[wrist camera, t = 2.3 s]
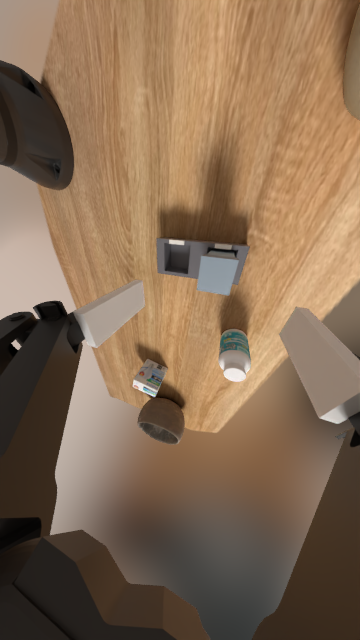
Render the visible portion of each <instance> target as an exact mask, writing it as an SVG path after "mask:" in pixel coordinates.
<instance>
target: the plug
mask: <svg viewBox="0 0 360 640" xmlns="http://www.w3.org/2000/svg"><path fill="white" fill-rule="evenodd" d="M238 262H239V259H238V258H236V257H235V255H234V251H231V250H221V249H212V250H211V251H210V252H209V253H208V254H203V255H202V256H201V262H200V269H199V277H198V284H197V290H199V291H205V292H211V293H217V294H223V295H229V293H230V290H231V286H232V283H233V279H234V276H235V272H236V269H237V265H238Z"/></svg>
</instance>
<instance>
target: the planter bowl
mask: <svg viewBox="0 0 360 640" xmlns="http://www.w3.org/2000/svg"><path fill="white" fill-rule="evenodd" d="M343 90H344V102H345V105H346V108H347V110H348V111H349V113H350V114H351V115H352V116H354V117H356V118H357V119H358V120H360V4H359V7H358V10H357V14H356V17H355V20H354V23H353V27H352V31H351V34H350V38H349V43H348V47H347V52H346V57H345V64H344V73H343Z"/></svg>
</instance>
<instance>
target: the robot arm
mask: <svg viewBox="0 0 360 640" xmlns="http://www.w3.org/2000/svg"><path fill="white" fill-rule="evenodd" d="M0 164H1V165H4V166H7V167H10V168H12V169H13V170H15V171H17V172H18V173H20V174H22V175H24V176H26V177H27V178H29V179H31V180H32V181H34V182H36V183H38V184H40V185H41V186H44V187H47V188H51V189H55V190H62V189H65V188H66V187H67V186H68V185H69V183H70V181H71V179H72V175H73V168H74V159H73V150H72V145H71V140H70V136H69V133H68V130H67V127H66V124H65V122H64V119H63V117H62V115H61V113H60V111H59V109H58V107H57V105H56V103H55V102H54V100H53V98H52V97H51V96H50V94H49V93H48V92H47V90H46V89H45V88H44V87H43V86H42V85H41V84H40V83H39V82H38V81H36V80H35V79H34V78H33V77H31V76H30V75H29V74H27V73H26V72H25V71H24V70H22V69H20V68H19V67H17V66H15V65H12V64H9V63H6V62H4V61H1V60H0ZM144 306H145V299H144V289H143V281H141V280H134V281H132V282H130V283H128V284H126V285H124V286H122V287H120V288H118V289H116V290H114V291H112V292H110V293H108V294H106V295H104V296H102V297H101V298H99V299H97V300H95V301H93V302H91V303H89V304H87V305H85V306H83V307H81V308H79V309H77V310H75V311H73V312H72V313H70V314H67V312H66V310H65V308H64V306H63V304H62V302H60V301H49V302H44V303H41V304H38V305H36V306H34V307H33V309H34V310H35V312H36V313H37V315H38V317H39V318H40V319H36V318H35V316H34V315H33V313H31V312H18V313H13V314H12V315H9V316H7V317H5V318H3V319H1V320H0V640H211V639H210V637H209V636H208V634H207V633H206V632H205V630H204V629H203V627H202V624H201V621H200V618H199V614H198V611H197V609H196V608H195V607H193V606H192V605H191V604H189V603H188V602H186V601H184V600H183V599H182V598H180V597H179V596H177V595H176V594H175V593H173V592H172V591H170V590H169V589H167V588H166V587H164V586H153V585H140V584H139V585H138V584H130V583H128V582H127V581H126V579H125V578H124V576H123V574H122V573H121V571H120V570H119V568H118V566H117V564H116V563H115V561H114V559H113V558H112V556H111V554H110V552H109V551H108V549H107V547H106V546H105V545H103V544H102V543H100V542H99V541H98V540H96V539H94V538H93V537H91V536H90V535H89V534H87V533H86V532H84V531H83V530H78V531H72V532H66V533H61V534H55V535H50V530H51V524H52V520H53V515H54V510H55V504H56V498H57V485H56V481H55V468H56V463H57V459H58V455H59V450H60V446H61V441H62V437H63V432H64V427H65V423H66V419H67V414H68V410H69V405H70V400H71V396H72V391H73V387H74V383H75V378H76V373H77V369H78V365H79V360H80V356H81V351H82V346H83V345H82V341H83V340H84V339H86V342H87V344H88V345H89V346H92V347H95V348H98V347H99V346H100V345H101V344H102V343H103V342H104V341H106V340H107V339H108V338H109V337H110V336H111V335H112V334H114V333H115V332H116V331H117V330H118V329H119V328H120V327H121V326H123V325H124V324H125V323H126V322H127V321H128V320H129V319H131V318H132V317H133V316H134V315H135V314H136V313H137V312H139V311H140V310H141V309H142V308H143V307H144ZM279 335H280V337H281V339H282V342H283V344H284V346H285V348H286V350H287V352H288V354H289V356H290V358H291V360H292V362H293V365H294V367H295V369H296V371H297V373H298V375H299V377H300V379H301V381H302V383H303V385H304V388H305V390H306V392H307V394H308V396H309V398H310V400H311V402H312V404H313V406H314V409H315V410H316V413H317V415H318V417H319V418H321V419H324V420H327V421H330V422H333V423H336V424H339V423H341V422H343V421H345V420H346V419H349V420H350V422H351V423H352V425H353V426H354V427H353V428H351V429H349V430H346V431H344V432H342V433H340V434H338V435H337V436H336V438H338V439H340V438H342V437H343V438H345V439H344V441H343V444H342V446H341V449H340V451H339V454H338V457H337V459H336V462H335V464H334V467H333V469H332V472H331V474H330V477H329V480H328V482H327V485H326V487H325V490H324V492H323V495H322V497H321V500H320V503H319V505H318V508H317V510H316V513H315V516H314V518H313V521H312V523H311V526H310V528H309V531H308V533H307V536H306V538H305V541H304V544H303V546H302V549H301V551H300V554H299V556H298V559H297V561H296V564H295V566H294V569H293V572H292V574H291V577H290V579H289V582H288V585H287V587H286V589H285V592H284V595H283V597H282V600H281V602H280V604H279V606H278V608H277V609H276V611H275V612H274V613H273V614H271V615H269V616H268V617H266V618H264V619H263V621H262V622H261V623H260V624H259V626H258V628H257V630H256V632H255V634H254V636H253V638H252V640H360V357H358V356H357V355H356V354H354V353H353V352H351V351H350V350H349V349H348V348H347V347H346V346H345V345H344V344H342V342H341V341H340V340H339V339H338V338H337V337H336V336H335V335H334V334H333V333H332V332H331V331H330V330H329V329H328V328H327V327H326V326H325V325H324V324H322V322H321V321H320V320H319V319H318V318H317V317H316V316H315V315H314V314H313V313H312V312H311V311H310V310H309V309H306V308H300V307H296V308H295V310H294V311H293V313H292V314H291V316H290V318H289V319H288V321H287V322H286V324H285V326H284V327H283V329H282V330H281V332H280V334H279ZM15 339H16V340H17V342H18V343H19V344H20V345H21V346H22V347H21V348H20V349H19V350H17V349H16V348H15V347H13V345H12V344H11V343H12V342H13V341H14V340H15Z"/></svg>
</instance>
